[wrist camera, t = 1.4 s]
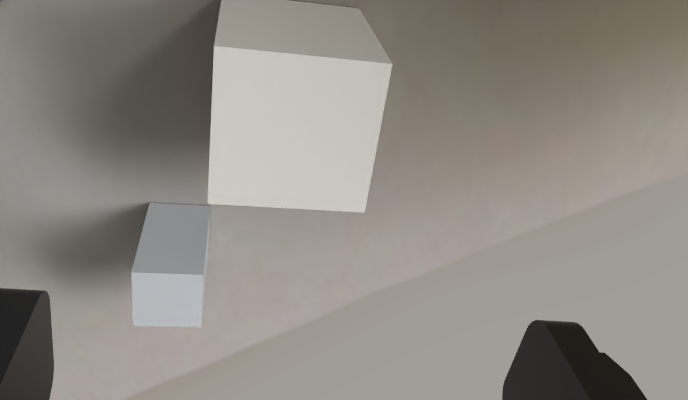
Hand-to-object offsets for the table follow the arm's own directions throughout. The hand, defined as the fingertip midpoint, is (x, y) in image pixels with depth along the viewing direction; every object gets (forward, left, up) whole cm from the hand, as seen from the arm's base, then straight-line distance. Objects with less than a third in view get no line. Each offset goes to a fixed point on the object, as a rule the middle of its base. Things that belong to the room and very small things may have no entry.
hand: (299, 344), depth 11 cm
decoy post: (+3, +9, -16) cm, 19 cm away
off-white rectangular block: (-1, +1, -16) cm, 17 cm away
